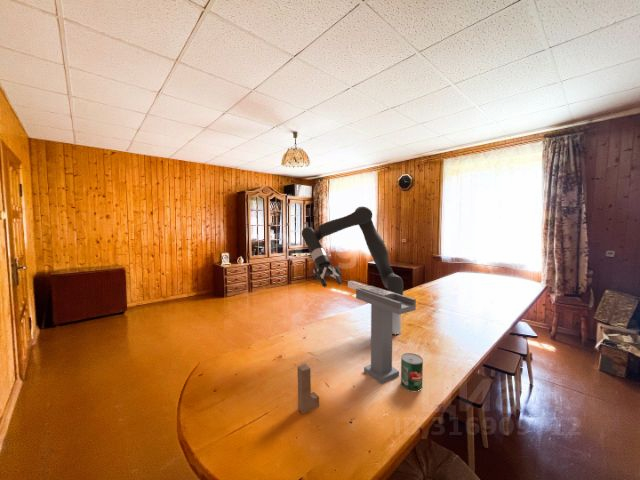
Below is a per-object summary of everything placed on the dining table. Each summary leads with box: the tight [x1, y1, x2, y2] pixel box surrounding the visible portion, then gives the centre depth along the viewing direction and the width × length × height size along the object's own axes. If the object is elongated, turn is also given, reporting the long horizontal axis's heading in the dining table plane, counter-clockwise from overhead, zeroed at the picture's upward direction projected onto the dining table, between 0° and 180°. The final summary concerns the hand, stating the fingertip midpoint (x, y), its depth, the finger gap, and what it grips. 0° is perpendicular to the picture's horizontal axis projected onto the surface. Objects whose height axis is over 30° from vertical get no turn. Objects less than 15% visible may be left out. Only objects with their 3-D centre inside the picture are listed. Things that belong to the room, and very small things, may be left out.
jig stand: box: [355, 286, 417, 385], centre depth 107 cm, size 24×10×34 cm, turn 31°
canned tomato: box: [400, 352, 424, 392], centre depth 101 cm, size 8×8×11 cm
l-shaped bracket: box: [297, 363, 320, 415], centre depth 89 cm, size 7×3×15 cm, turn 123°
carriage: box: [347, 280, 395, 300], centre depth 114 cm, size 25×6×3 cm, turn 31°
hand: (333, 285), depth 127 cm, fingers open, 8 cm apart
